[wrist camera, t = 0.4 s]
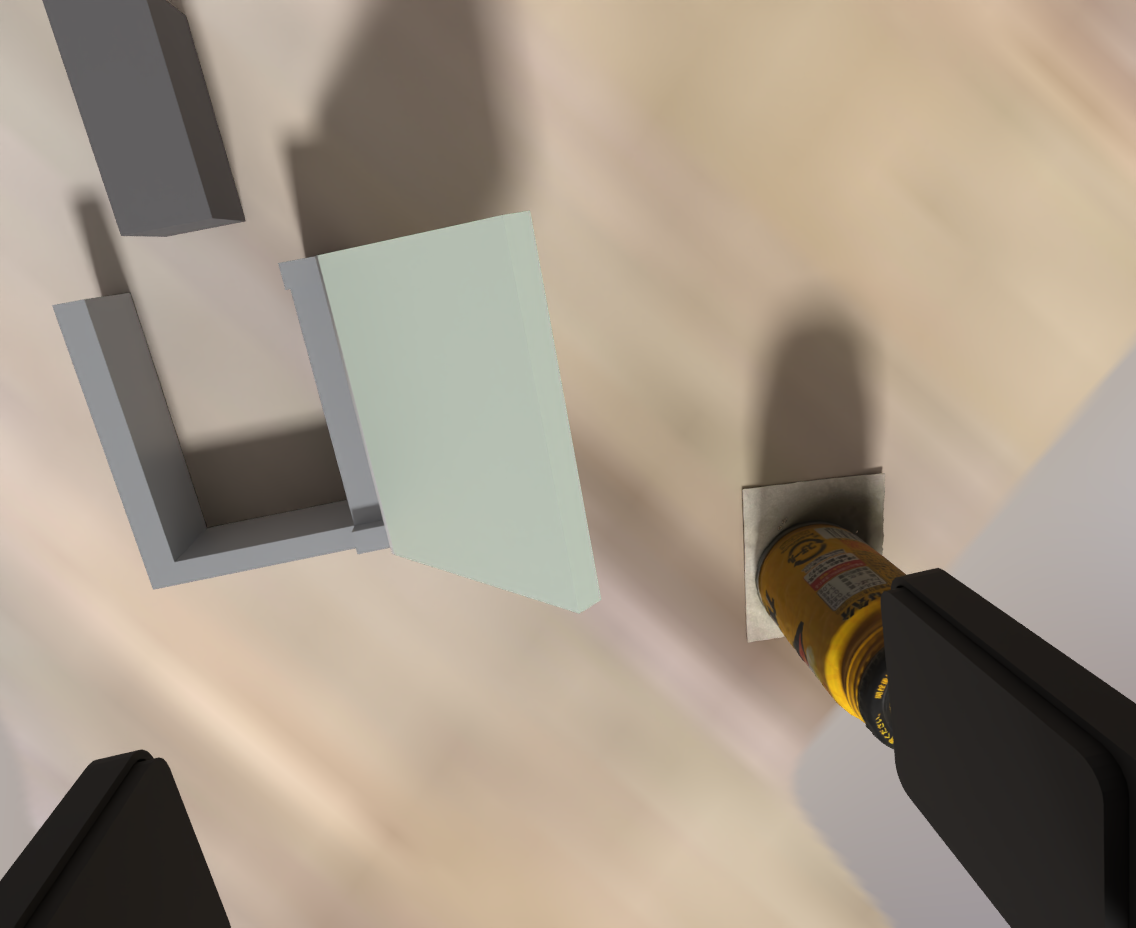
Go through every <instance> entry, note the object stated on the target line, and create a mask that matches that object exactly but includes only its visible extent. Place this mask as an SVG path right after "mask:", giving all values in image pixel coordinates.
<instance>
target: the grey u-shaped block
mask: <svg viewBox="0 0 1136 928" xmlns="http://www.w3.org/2000/svg"><path fill="white" fill-rule="evenodd" d="M278 264H279V267H280V271H281V275H282V279H283V282H284V286H285V290H288V289H291V293H292V297H293V300H294V304H295V308H296V311H297V315H298V319H299V323H300V326H301V330H302V334H303V337H304V341H305V345H306V348H307V352H308V356H309V359H310V363H311V367H312V371H313V374H314V378H315V382H316V385H317V389H318V393H319V396H320V400H321V404H322V407H323V411H324V415H325V419H326V422H327V426H328V430H329V433H330V437H331V441H332V444H333V448H334V452H335V456H336V459H337V463H338V467H339V470H340V474H341V478H342V481H343V485H344V489H345V492H346V496H347V500H344V501H339V502H334V503H329V504H324V505H319V506H314V507H309V508H304V509H299V510H294V511H289V512H284V513H279V514H274V515H270V516H265V517H260V518H255V519H250V520H245V521H240V522H235V523H230V524H225V525H220V526H215V527H210V528H207V527H206V524H205V521H204V517H203V514H202V511H201V508H200V505H199V502H198V499H197V496H196V493H195V490H194V487H193V484H192V481H191V478H190V475H189V472H188V468H187V465H186V462H185V459H184V456H183V453H182V450H181V447H180V444H179V441H178V438H177V435H176V432H175V429H174V426H173V423H172V419H171V416H170V413H169V410H168V407H167V404H166V401H165V398H164V395H163V392H162V389H161V386H160V383H159V380H158V377H157V374H156V370H155V367H154V364H153V361H152V358H151V355H150V352H149V349H148V346H147V343H146V340H145V337H144V334H143V331H142V328H141V325H140V321H139V318H138V315H137V312H136V309H135V306H134V303H133V300H132V297H131V294H130V293H125V294H118V295H111V296H104V297H98V298H91V299H84V300H78V301H73V302H68V303H62V304H57V305H52V306H53V309H54V312H55V315H56V317H57V320H58V323H59V326H60V329H61V331H62V334H63V337H64V340H65V343H66V346H67V348H68V351H69V354H70V357H71V360H72V362H73V365H74V368H75V371H76V374H77V376H78V379H79V382H80V385H81V388H82V391H83V393H84V396H85V399H86V402H87V405H88V407H89V410H90V413H91V416H92V419H93V422H94V424H95V427H96V430H97V433H98V436H99V438H100V441H101V444H102V447H103V450H104V452H105V455H106V458H107V461H108V464H109V467H110V469H111V472H112V475H113V478H114V481H115V483H116V486H117V489H118V492H119V495H120V498H121V500H122V503H123V506H124V509H125V512H126V514H127V517H128V520H129V523H130V526H131V529H132V531H133V534H134V537H135V540H136V543H137V545H138V548H139V551H140V554H141V557H142V559H143V562H144V565H145V568H146V571H147V574H148V576H149V579H150V582H151V585H152V588H153V590H154V589H159V588H164V587H169V586H173V585H178V584H183V583H188V582H193V581H198V580H203V579H208V578H213V577H217V576H222V575H227V574H232V573H237V572H242V571H247V570H252V569H257V568H261V567H266V566H271V565H276V564H281V563H286V562H291V561H296V560H301V559H305V558H310V557H315V556H320V555H325V554H330V553H335V552H340V551H345V550H349V549H354V548H356V550H357V554H361V553H366V552H371V551H376V550H381V549H386V548H390V545H389V541H388V537H387V533H386V529H385V526H384V522H383V518H382V514H381V510H380V506H379V502H378V499H377V495H376V491H375V487H374V483H373V479H372V475H371V472H370V468H369V464H368V460H367V456H366V452H365V448H364V445H363V441H362V437H361V433H360V429H359V425H358V421H357V418H356V414H355V410H354V406H353V402H352V398H351V394H350V391H349V387H348V383H347V379H346V375H345V371H344V367H343V364H342V360H341V356H340V352H339V348H338V344H337V340H336V337H335V333H334V329H333V325H332V321H331V317H330V313H329V310H328V306H327V302H326V298H325V294H324V290H323V286H322V283H321V279H320V275H319V271H318V267H317V263H316V259H315V257H309V258H304V259H298V260H293V261H287V262H282V263H278Z"/></svg>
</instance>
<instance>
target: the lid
mask: <svg viewBox="0 0 1136 928" xmlns="http://www.w3.org/2000/svg"><path fill="white" fill-rule="evenodd" d="M315 259H316V263H317V267H318V271H319V275H320V279H321V283H322V286H323V290H324V294H325V298H326V302H327V306H328V310H329V313H330V317H331V321H332V325H333V329H334V333H335V337H336V340H337V344H338V348H339V352H340V356H341V360H342V364H343V367H344V371H345V375H346V379H347V383H348V387H349V391H350V394H351V398H352V402H353V406H354V410H355V414H356V418H357V421H358V425H359V429H360V433H361V437H362V441H363V445H364V448H365V452H366V456H367V460H368V464H369V468H370V472H371V475H372V479H373V483H374V487H375V491H376V495H377V499H378V502H379V506H380V510H381V514H382V518H383V522H384V526H385V529H386V533H387V537H388V541H389V545H390V549H391V552H392V554H393V555H397V556H400V557H403V558H406V559H409V560H412V561H415V562H419V563H422V564H425V565H428V566H431V567H434V568H437V569H441V570H444V571H447V572H450V573H453V574H456V575H459V576H463V577H466V578H469V579H472V580H475V581H478V582H481V583H485V584H488V585H491V586H494V587H497V588H500V589H503V590H507V591H510V592H513V593H516V594H519V595H522V596H525V597H529V598H532V599H535V600H538V601H541V602H544V603H547V604H551V605H554V606H557V607H560V608H563V609H566V610H569V611H573V612H576V613H581V612H583V611H584V610H586V609H587V608H589V607H591V606H592V605H594V604H595V603H597V602H599V601H600V600H601V596H600V591H599V585H598V580H597V574H596V569H595V564H594V558H593V553H592V547H591V542H590V536H589V531H588V525H587V520H586V514H585V509H584V503H583V498H582V492H581V487H580V481H579V476H578V470H577V465H576V460H575V454H574V449H573V443H572V438H571V432H570V427H569V421H568V416H567V410H566V405H565V399H564V394H563V388H562V383H561V377H560V372H559V366H558V361H557V356H556V350H555V345H554V339H553V334H552V328H551V323H550V317H549V312H548V306H547V301H546V295H545V290H544V284H543V279H542V273H541V268H540V262H539V257H538V252H537V246H536V241H535V235H534V230H533V224H532V219H531V213H530V211H524V212H518V213H512V214H506V215H500V216H496V217H491V218H487V219H482V220H478V221H473V222H468V223H464V224H459V225H455V226H450V227H445V228H441V229H436V230H432V231H427V232H423V233H418V234H413V235H409V236H404V237H400V238H395V239H390V240H386V241H381V242H377V243H372V244H368V245H363V246H358V247H354V248H349V249H345V250H340V251H336V252H331V253H326V254H322V255H317V256H315Z"/></svg>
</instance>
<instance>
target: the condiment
mask: <svg viewBox="0 0 1136 928" xmlns="http://www.w3.org/2000/svg"><path fill="white" fill-rule="evenodd" d="M884 495H885V473H881V474H872V475H859V476H849V477H842V478H830V479H821V480H814V481H802V482H796V483H790V484H783V485H772V486H765V487H758V488H750V489H743V518H744V543H745V589H746V616H747V620H746V623H747V638H748V642H753V641H760V640H768V639H772V638H780V637H786V638H787V640H788V641H789V642H790V644H791V645H792V646H793V648H795V649H796V651H797V653H798V654H799V656H800V657H801V658H802V660H803V661H804V662H805V663H806V664H807V665H808V667H809V668H810V669H811V670H812V672H813V673H814V674H815V676H816V677H817V678H818V679H819V680H820V682H821V683H822V685H823V686H824V687H825V689H826V690H827V691H828V693H829V694H830V695H831V696H832V697H833V698H834V700H835V701H836V702H837V703H838V704H839V705H840V706H841V707H842V708H844V709H845V710H846V711H847V712H848V713H850V714H851V715H853V716H855V717H856V718H859V719H860V720H861V721H863V722H864V723H865V724H866V727H867V728H868V729H869V730H870V731H871V732H872V734H873V735H874V736H875V737H876V738H878V739H879V740H880V741H881V742H882V743H883V744H885V745H886V746H888V747H890V748H892V749H894V743H893V732H892V721H891V711H890V700H889V690H888V679H887V668H886V658H885V647H884V636H883V626H882V615H881V595H882V593H883V592H884V591H888V590H891V584H892V581H893V580H894V578H895V577H900V576H904V575H906V574H905V573H903V572H902V571H901V570H900V569H898V568H897V567H896V566H895V565H893V564H892V563H891V562H889V561H888V560H887V559H886V558H885V557H883V556H882V551H883V548H882V545H883V538H884V535H883V521H884V519H883V510H884ZM786 518H787V521H786V522H785V523H784V524H783V523H782V522H783V520H784V519H786ZM780 526H782V529H780V530H778V527H780ZM857 530H858V533H856V531H857Z"/></svg>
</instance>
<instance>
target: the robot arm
mask: <svg viewBox="0 0 1136 928" xmlns="http://www.w3.org/2000/svg"><path fill="white" fill-rule="evenodd" d="M881 615H882V626H883V636H884V647H885V658H886V668H887V679H888V690H889V700H890V711H891V721H892V732H893V743H894V753H895V764H896V769H897V773H898V776H899V779H900V782H901V784H902V786H903V788H904V790H905V792H906V793H907V795H908V796H909V797H910V799H911V800H912V801H913V803H914V804H915V805H916V806H917V808H918V809H919V810H920V812H921V813H922V814H923V815H924V817H925V818H926V819H927V821H928V822H929V823H930V824H931V826H932V827H933V828H934V830H935V831H936V832H937V833H938V835H939V836H940V837H941V838H942V840H943V841H944V842H945V844H946V845H947V846H948V847H949V849H950V850H951V851H952V852H953V854H954V855H955V856H956V858H957V859H958V860H959V861H960V863H961V864H962V865H963V867H964V868H965V869H966V870H967V872H968V873H969V874H970V876H971V877H972V878H973V879H974V881H975V882H976V883H977V885H978V886H979V887H980V888H981V890H982V891H983V892H984V893H985V895H986V896H987V897H988V899H989V900H990V901H991V902H992V904H993V905H994V906H995V908H996V909H997V910H998V911H999V913H1000V914H1001V915H1002V917H1003V918H1004V919H1005V920H1006V922H1007V923H1008V924H1009V925H1010V927H1011V928H1136V704H1135V703H1134V702H1133V701H1131V700H1130V699H1128V698H1127V697H1125V696H1124V695H1122V694H1121V693H1120V692H1118V691H1117V690H1115V689H1114V688H1112V687H1111V686H1110V685H1108V684H1107V683H1105V682H1104V681H1102V680H1101V679H1099V678H1098V677H1097V676H1095V675H1094V674H1092V673H1091V672H1089V671H1088V670H1087V669H1085V668H1084V667H1082V666H1081V665H1079V664H1078V663H1076V662H1075V661H1074V660H1072V659H1071V658H1069V657H1068V656H1066V655H1065V654H1064V653H1062V652H1061V651H1059V650H1058V649H1056V648H1055V647H1053V646H1052V645H1050V644H1049V643H1048V642H1046V641H1044V640H1043V639H1042V638H1040V637H1039V636H1037V635H1036V634H1035V633H1033V632H1032V631H1030V630H1029V629H1028V628H1026V627H1025V626H1023V625H1022V624H1020V623H1019V622H1017V621H1016V620H1015V619H1013V618H1012V617H1010V616H1009V615H1007V614H1006V613H1004V612H1003V611H1002V610H1000V609H999V608H997V607H996V606H994V605H993V604H991V603H990V602H989V601H987V600H986V599H984V598H982V597H981V596H980V595H979V594H977V593H976V592H974V591H973V590H971V589H970V588H968V587H967V586H966V585H964V584H963V583H961V582H960V581H958V580H957V579H955V578H954V577H953V576H951V575H950V574H948V573H947V572H945V571H944V570H942V569H939V568H935V569H931V570H926V571H922V572H917V573H913V574H909V575H904V576H900V577H895V578H894V580H893V581H892V584H891V590H888V591H884V592H883V593H882V595H881ZM0 928H231V926H230V923H229V920H228V917H227V915H226V912H225V910H224V907H223V904H222V902H221V899H220V897H219V894H218V892H217V889H216V886H215V884H214V881H213V879H212V876H211V873H210V871H209V868H208V866H207V863H206V861H205V858H204V855H203V853H202V850H201V848H200V845H199V843H198V840H197V837H196V835H195V832H194V830H193V827H192V824H191V822H190V819H189V817H188V814H187V812H186V809H185V806H184V804H183V801H182V799H181V796H180V793H179V791H178V788H177V786H176V783H175V781H174V778H173V775H172V773H171V770H170V768H169V766H168V764H167V762H166V761H165V760H164V759H162V758H155V759H154V758H153V757H152V755H151V754H150V753H149V752H148V751H145V750H137V751H133V752H129V753H124V754H120V755H115V756H111V757H107V758H102V759H98V760H95V761H93V762H92V763H90V764H89V765H88V766H87V768H86V769H85V770H84V771H83V773H82V774H81V775H80V777H79V778H78V779H77V781H76V782H75V783H74V785H73V786H72V787H71V789H70V790H69V791H68V793H67V794H66V795H65V796H64V798H63V799H62V800H61V802H60V803H59V804H58V806H57V807H56V808H55V810H54V811H53V812H52V814H51V815H50V816H49V818H48V819H47V820H46V821H45V823H44V824H43V825H42V827H41V828H40V829H39V831H38V832H37V833H36V835H35V836H34V837H33V839H32V840H31V841H30V843H29V844H28V845H27V846H26V848H25V849H24V850H23V852H22V853H21V855H20V856H19V857H18V858H17V860H16V861H15V862H14V864H13V865H12V866H11V868H10V869H9V870H8V872H7V873H6V874H5V876H4V877H3V878H2V879H1V881H0Z"/></svg>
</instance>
